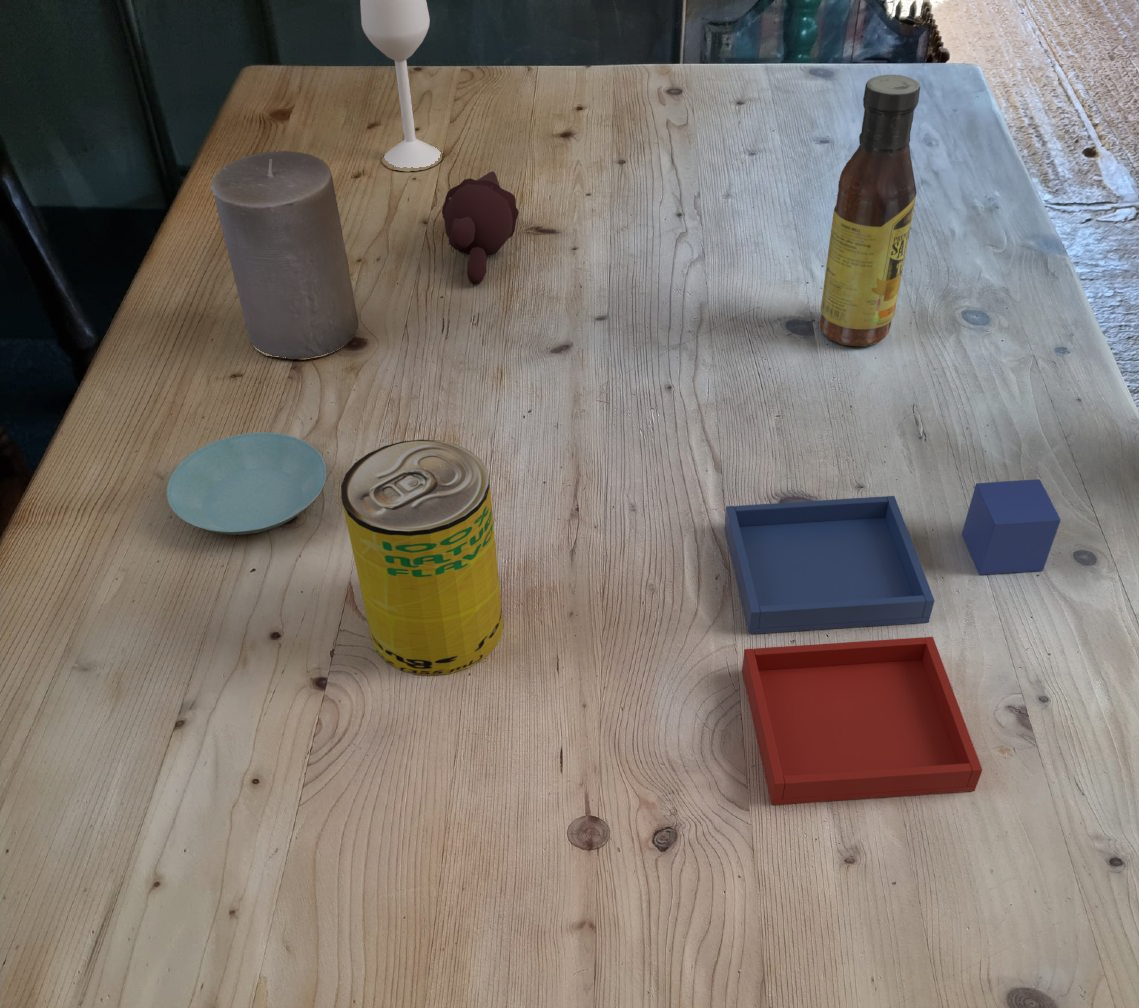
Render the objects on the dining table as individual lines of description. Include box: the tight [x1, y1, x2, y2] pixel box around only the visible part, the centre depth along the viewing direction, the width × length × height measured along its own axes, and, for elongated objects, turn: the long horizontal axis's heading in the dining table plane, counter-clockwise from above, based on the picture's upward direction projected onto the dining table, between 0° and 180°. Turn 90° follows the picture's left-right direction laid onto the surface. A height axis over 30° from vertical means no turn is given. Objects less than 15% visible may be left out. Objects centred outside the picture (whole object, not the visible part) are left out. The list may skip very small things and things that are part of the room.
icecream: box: [441, 171, 520, 286], centre depth 114 cm, size 7×7×15 cm
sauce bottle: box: [819, 74, 921, 347], centre depth 98 cm, size 7×6×20 cm
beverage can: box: [340, 439, 504, 677], centre depth 78 cm, size 9×9×12 cm
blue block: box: [961, 478, 1061, 576], centre depth 84 cm, size 4×4×4 cm
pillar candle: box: [209, 150, 359, 360], centre depth 102 cm, size 10×10×15 cm
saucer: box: [166, 431, 327, 536], centre depth 91 cm, size 12×12×2 cm
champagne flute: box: [359, 0, 441, 168], centre depth 121 cm, size 7×7×24 cm
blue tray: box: [723, 495, 936, 635], centre depth 84 cm, size 12×11×2 cm
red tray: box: [741, 636, 983, 806], centre depth 75 cm, size 12×11×2 cm
